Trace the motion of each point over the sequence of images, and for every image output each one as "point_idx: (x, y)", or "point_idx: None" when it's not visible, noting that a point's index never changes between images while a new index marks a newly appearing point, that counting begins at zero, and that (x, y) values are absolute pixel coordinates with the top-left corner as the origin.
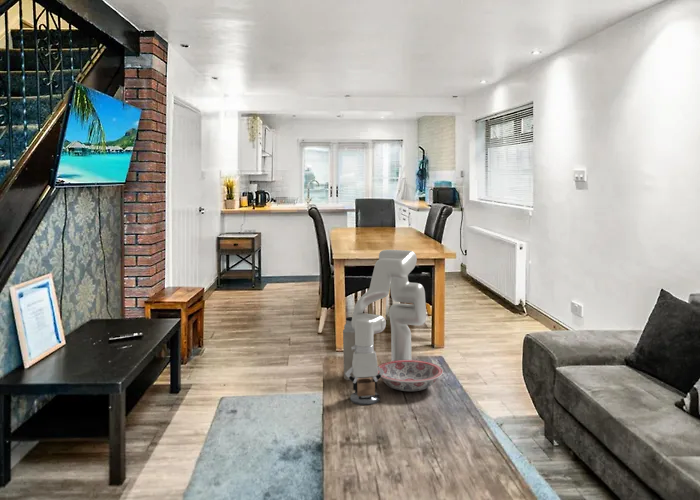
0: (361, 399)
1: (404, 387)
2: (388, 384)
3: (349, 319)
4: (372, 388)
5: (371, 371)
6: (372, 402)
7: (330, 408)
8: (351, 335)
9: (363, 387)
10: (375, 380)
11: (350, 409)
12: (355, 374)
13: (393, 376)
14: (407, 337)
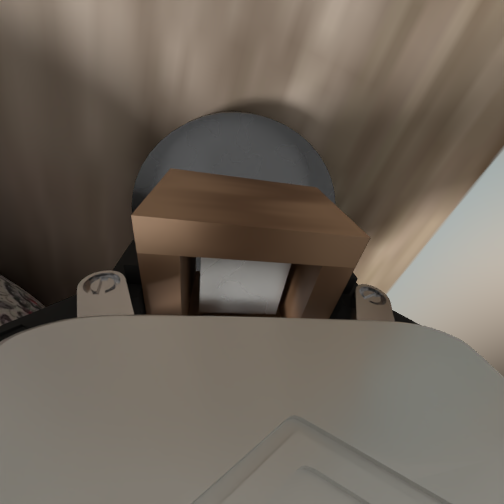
0: (285, 173)
1: None
2: (34, 307)
3: None
4: (184, 193)
5: (109, 460)
6: (209, 115)
7: (494, 141)
8: None
9: (289, 211)
10: (114, 286)
11: (408, 63)
12: (496, 375)
13: None
14: None
